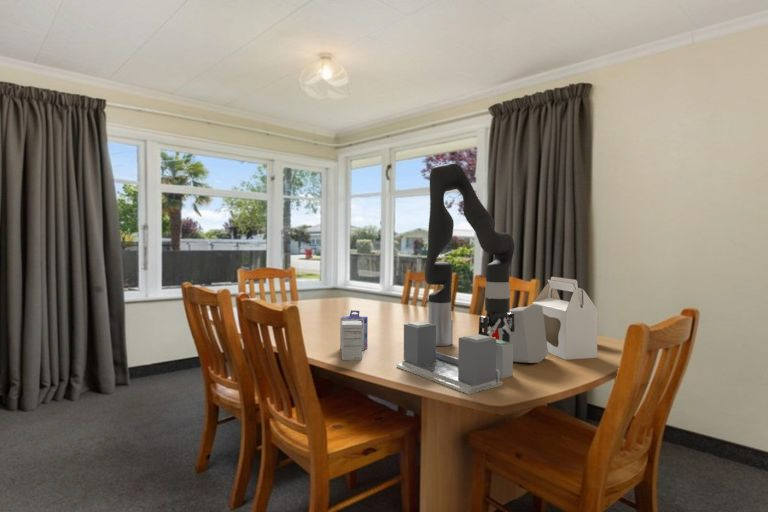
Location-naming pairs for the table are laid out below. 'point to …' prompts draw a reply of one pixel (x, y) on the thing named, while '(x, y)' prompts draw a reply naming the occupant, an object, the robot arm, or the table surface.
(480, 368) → the block
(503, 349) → the block
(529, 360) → the electrical switch box
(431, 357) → the block
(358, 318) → the ink cartridge box
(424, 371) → the rail base
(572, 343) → the gable box
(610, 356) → the table surface
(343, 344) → the supplement box
